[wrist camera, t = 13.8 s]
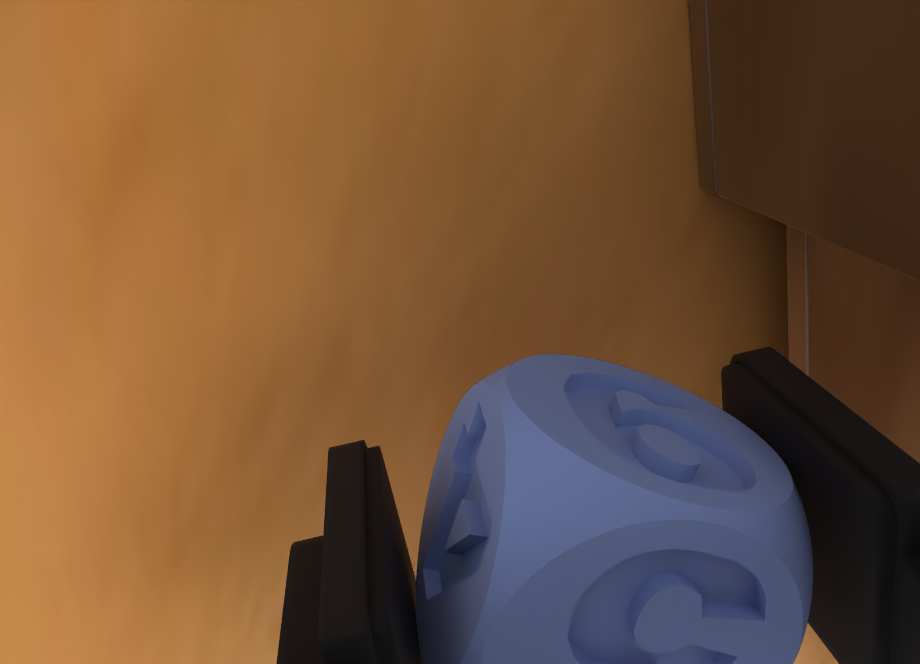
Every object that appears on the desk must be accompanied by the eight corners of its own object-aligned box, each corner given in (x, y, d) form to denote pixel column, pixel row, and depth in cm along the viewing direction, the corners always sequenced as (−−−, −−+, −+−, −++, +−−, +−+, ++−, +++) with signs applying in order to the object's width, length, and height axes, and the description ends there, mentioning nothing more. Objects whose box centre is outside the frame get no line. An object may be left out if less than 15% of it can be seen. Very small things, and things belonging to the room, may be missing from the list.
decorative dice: (406, 547, 12) (428, 767, 9) (476, 329, 11) (536, 480, 7) (624, 582, 13) (727, 794, 10) (713, 384, 12) (872, 543, 8)
